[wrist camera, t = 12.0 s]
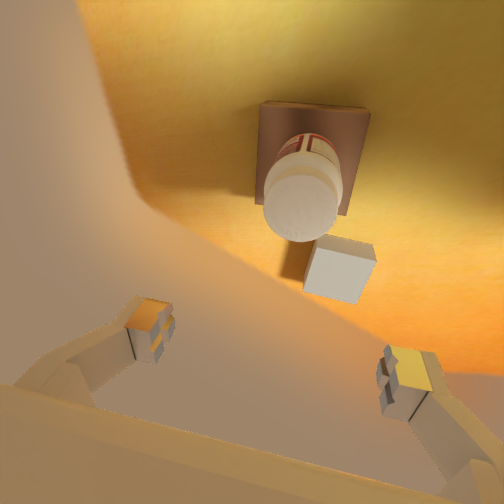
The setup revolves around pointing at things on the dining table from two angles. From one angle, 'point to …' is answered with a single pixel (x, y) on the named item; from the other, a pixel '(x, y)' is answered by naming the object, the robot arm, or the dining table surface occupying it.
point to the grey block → (339, 268)
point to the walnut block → (316, 122)
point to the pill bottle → (303, 189)
